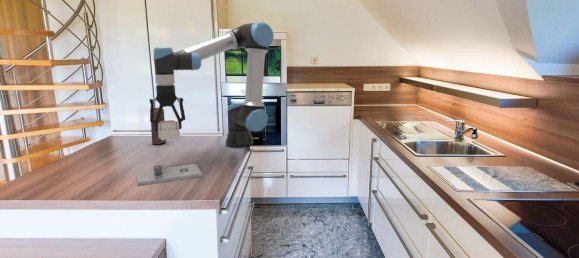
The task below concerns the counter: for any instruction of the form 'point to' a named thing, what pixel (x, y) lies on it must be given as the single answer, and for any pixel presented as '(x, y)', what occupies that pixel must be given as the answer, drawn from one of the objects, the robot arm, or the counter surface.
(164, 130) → the knob
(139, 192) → the counter surface
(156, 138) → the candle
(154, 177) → the panel
